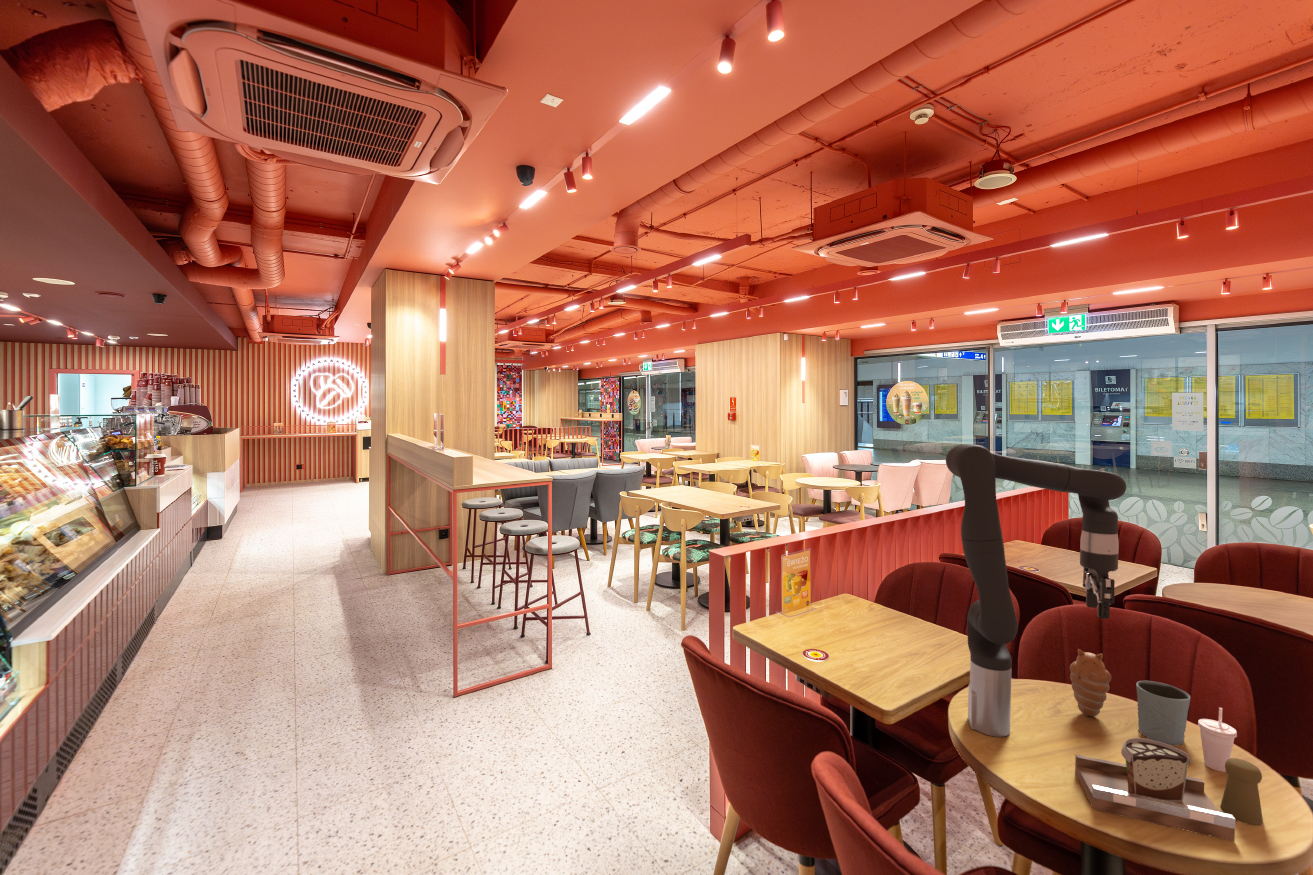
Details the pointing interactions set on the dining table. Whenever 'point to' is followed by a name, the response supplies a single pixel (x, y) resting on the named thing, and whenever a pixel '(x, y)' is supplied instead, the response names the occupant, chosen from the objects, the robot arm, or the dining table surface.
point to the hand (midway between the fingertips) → (1097, 612)
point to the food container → (1155, 769)
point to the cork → (1242, 792)
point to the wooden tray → (1151, 800)
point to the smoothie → (1216, 742)
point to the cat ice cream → (1089, 682)
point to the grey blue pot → (1162, 712)
